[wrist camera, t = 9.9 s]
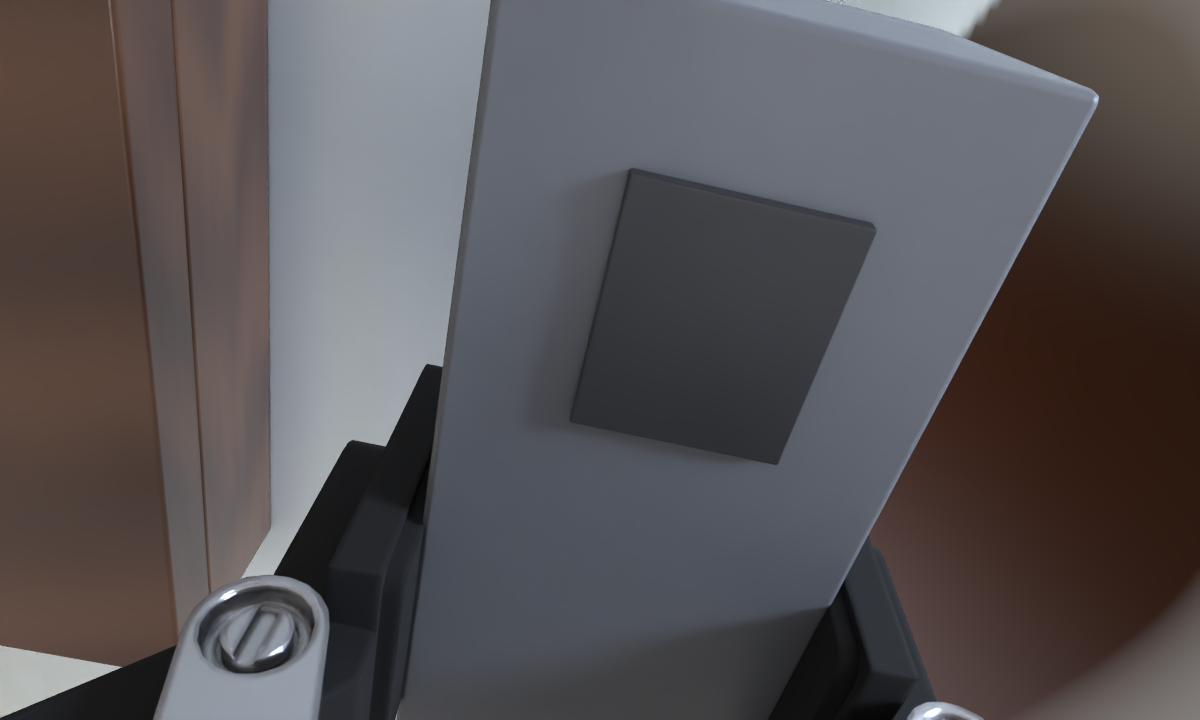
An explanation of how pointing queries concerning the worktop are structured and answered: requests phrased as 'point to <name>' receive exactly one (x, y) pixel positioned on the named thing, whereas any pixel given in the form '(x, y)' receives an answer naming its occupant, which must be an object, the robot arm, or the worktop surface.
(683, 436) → the grey long block
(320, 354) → the worktop surface
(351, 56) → the worktop surface
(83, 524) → the shelf
